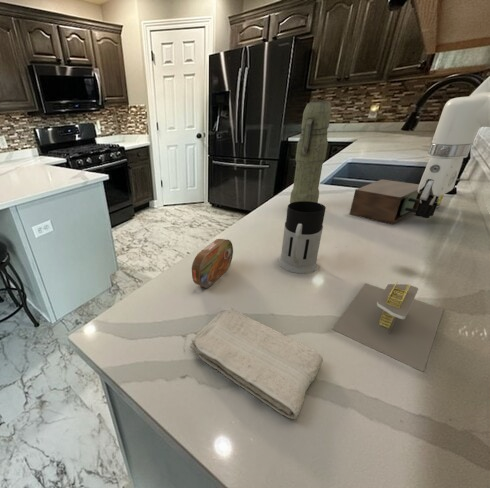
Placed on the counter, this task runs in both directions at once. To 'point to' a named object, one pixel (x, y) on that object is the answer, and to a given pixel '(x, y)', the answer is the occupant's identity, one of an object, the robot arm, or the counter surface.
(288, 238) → the glass holder
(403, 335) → the platform
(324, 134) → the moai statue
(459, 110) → the robot arm
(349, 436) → the counter surface
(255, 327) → the washcloth
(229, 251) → the tin
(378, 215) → the cabinet
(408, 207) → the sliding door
